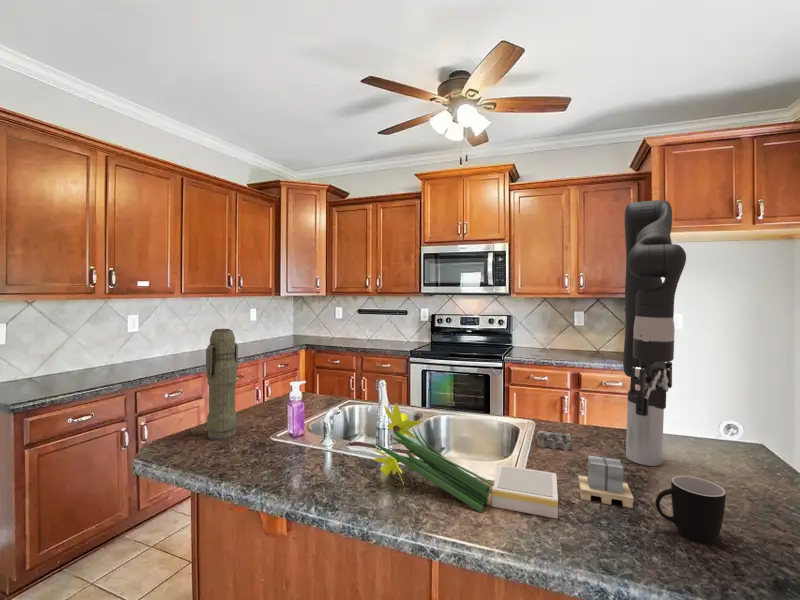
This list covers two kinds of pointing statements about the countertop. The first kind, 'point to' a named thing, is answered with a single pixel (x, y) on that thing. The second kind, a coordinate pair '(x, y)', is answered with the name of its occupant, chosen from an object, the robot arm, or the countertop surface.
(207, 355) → the thermos
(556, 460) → the countertop surface
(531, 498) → the dock
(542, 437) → the egg carton
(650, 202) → the robot arm
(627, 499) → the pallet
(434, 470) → the daffodil flowers
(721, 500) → the mug
